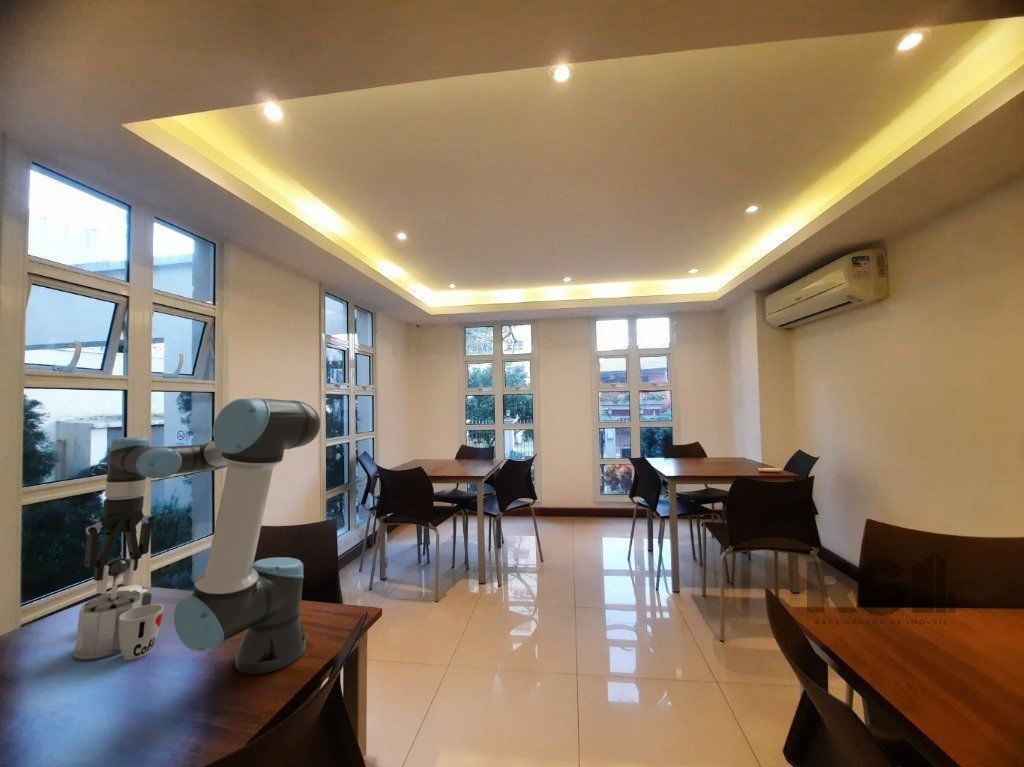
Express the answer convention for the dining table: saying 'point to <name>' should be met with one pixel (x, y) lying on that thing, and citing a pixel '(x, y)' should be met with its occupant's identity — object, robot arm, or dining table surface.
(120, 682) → the dining table surface
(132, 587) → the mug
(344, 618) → the dining table surface
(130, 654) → the cup
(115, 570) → the plunger
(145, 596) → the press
